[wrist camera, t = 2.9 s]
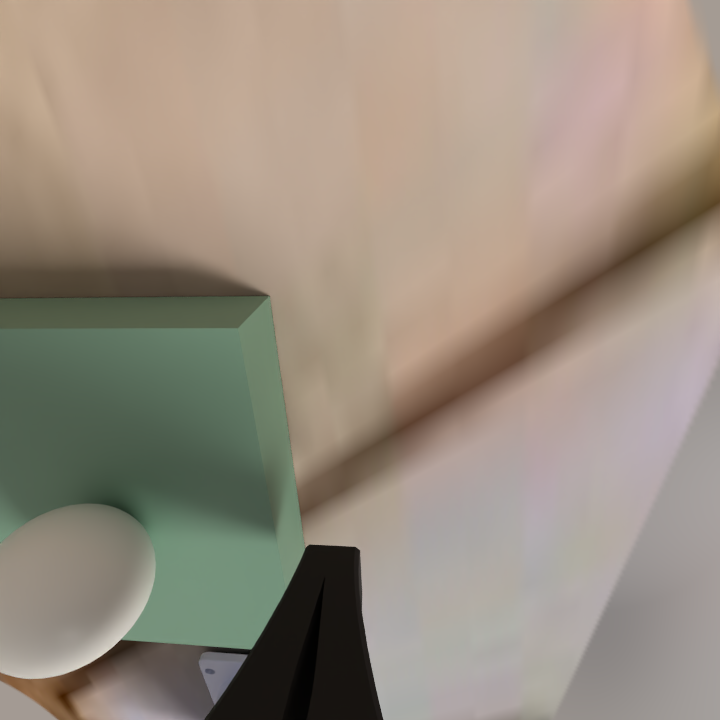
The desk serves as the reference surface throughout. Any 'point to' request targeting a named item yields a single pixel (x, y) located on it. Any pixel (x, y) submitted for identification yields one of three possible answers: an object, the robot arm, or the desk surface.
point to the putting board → (159, 446)
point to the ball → (71, 588)
